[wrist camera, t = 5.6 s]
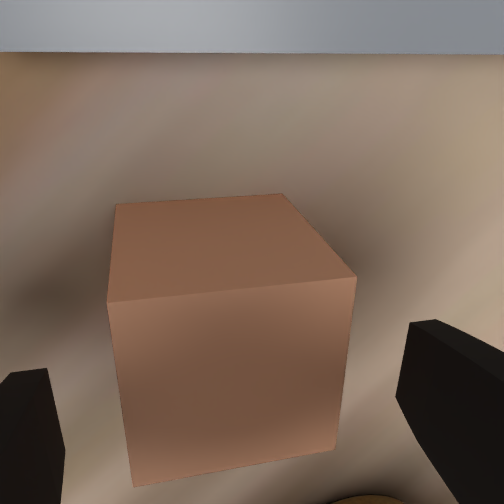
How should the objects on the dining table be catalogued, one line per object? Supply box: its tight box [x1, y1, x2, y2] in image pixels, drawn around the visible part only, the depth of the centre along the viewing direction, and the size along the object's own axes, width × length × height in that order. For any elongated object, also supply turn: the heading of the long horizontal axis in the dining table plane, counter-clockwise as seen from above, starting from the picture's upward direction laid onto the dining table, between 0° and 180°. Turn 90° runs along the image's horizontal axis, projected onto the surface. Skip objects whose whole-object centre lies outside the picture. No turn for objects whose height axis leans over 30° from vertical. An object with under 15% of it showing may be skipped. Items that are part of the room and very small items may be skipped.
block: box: [107, 194, 357, 487], centre depth 11 cm, size 4×4×5 cm
